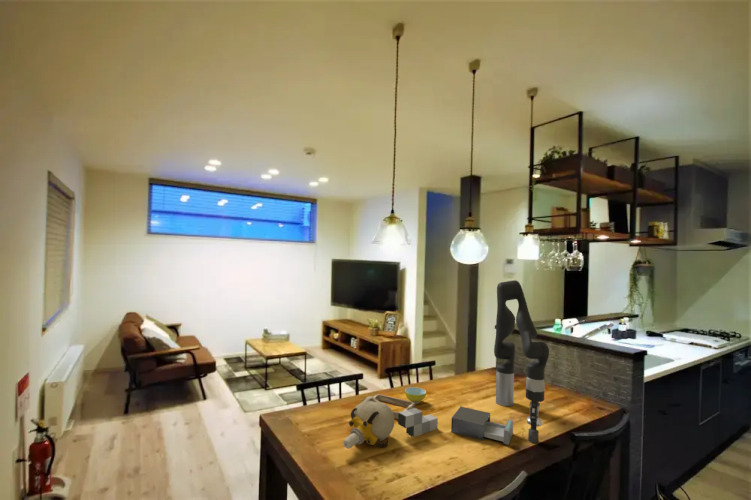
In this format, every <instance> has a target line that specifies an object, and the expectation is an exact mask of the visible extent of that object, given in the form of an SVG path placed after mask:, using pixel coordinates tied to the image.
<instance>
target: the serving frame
mask: <svg viewBox="0 0 751 500" xmlns="http://www.w3.org/2000/svg"><path fill="white" fill-rule="evenodd" d="M373 397H374V398H375V399H376V400H378V401H379V402H383V403H389V404H392V405H396V406H400V407H405V409H403V411H406V410H409V409H413V408H416V404H415V402H411V401H410V400H406V399H402V398H398V397H393V396H389V395H384V394H380V393H377V394H376V395H373ZM392 411H393V413H394V420H398V413H399V412H400V411H399V412H398V411H395V410H392Z"/></svg>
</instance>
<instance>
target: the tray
mask: <svg viewBox="0 0 751 500" xmlns="http://www.w3.org/2000/svg"><path fill="white" fill-rule="evenodd" d="M513 434H514V420H513V419H510V418H509V419H508V420H507V421H506V424H502V423H498V422H493V421H491V420H490V421H486V423H485V425H484V434H483V437H485V438H488V439H490V440H491V439H492V440H496V441H499V442H503V445H508V446H509V445H510V442H511V439H512V437H513Z"/></svg>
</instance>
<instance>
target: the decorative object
mask: <svg viewBox="0 0 751 500" xmlns="http://www.w3.org/2000/svg"><path fill="white" fill-rule="evenodd" d="M393 411H394V410H392V408H391V407H390V406H389V405H387V403H385V402H383V401H379V400H376V399H375V398H374V395H371V396H370V395H369V396H366V397H363V398H362V399H361V403H359V404H357V405H355V408H353V409H352V410H351V411H350V418H351V420H350V421H349V422H348V425H349V426H350V427H353V428H352V429H351V430H350V434H349V435H348V436H347V437H346V438H345V439H344V440H343V442H342V443H343V448H346V449H351V448H353V447H354V446H355V445H362V444H363V443H364V442H365V441H366V443H367V444H368V445H371V446H376V447H378V448H387V446H389V439H388V437H389V436H390V435H391V433H392V432H393V429H394V426H395V419H394V413H393ZM384 440H386V442H382V441H384Z"/></svg>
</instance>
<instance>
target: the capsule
mask: <svg viewBox="0 0 751 500" xmlns="http://www.w3.org/2000/svg"><path fill="white" fill-rule="evenodd" d="M527 433H528V437H527V438H528V439H527V441H528V442H529V443H531V442H532V444H538V443H539V436H540V435H539V433H540V432H539V430H538V429H536V431H535V430H531V427H529V428H528V432H527Z"/></svg>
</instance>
